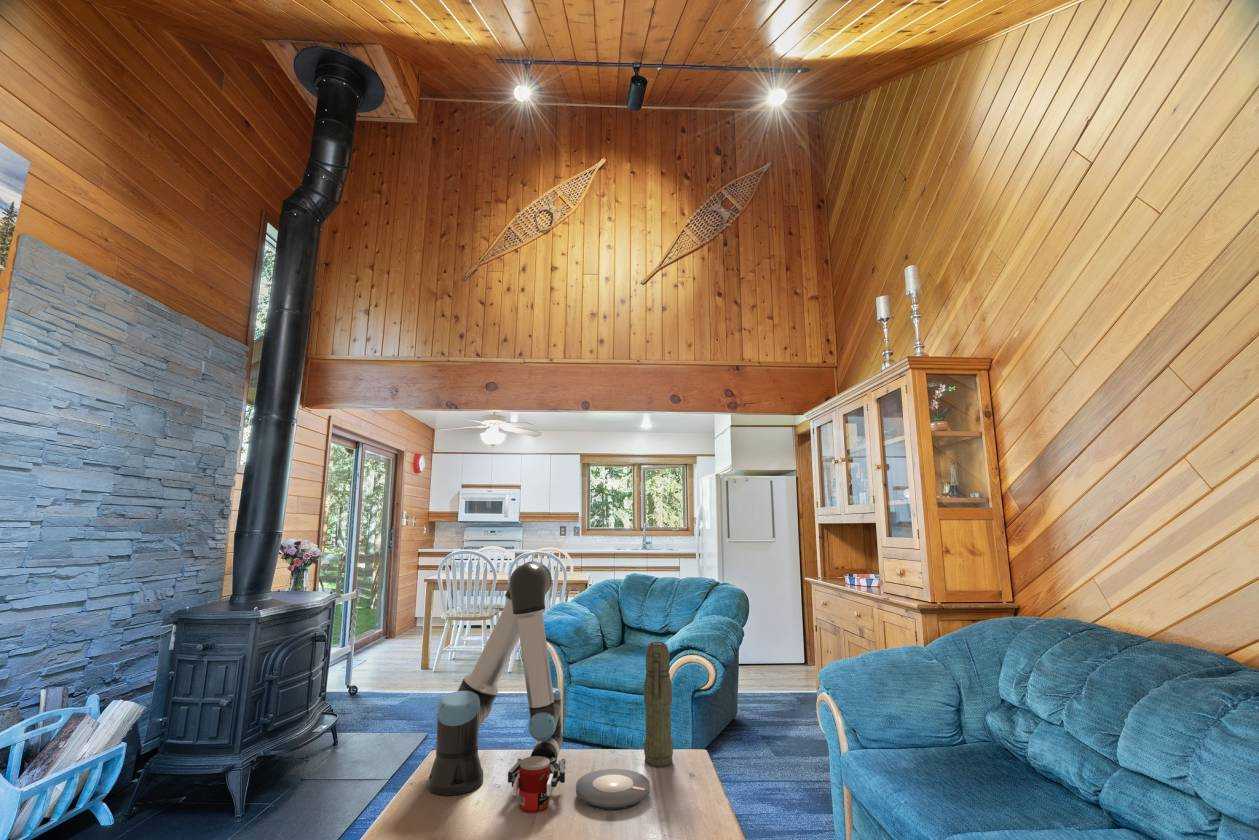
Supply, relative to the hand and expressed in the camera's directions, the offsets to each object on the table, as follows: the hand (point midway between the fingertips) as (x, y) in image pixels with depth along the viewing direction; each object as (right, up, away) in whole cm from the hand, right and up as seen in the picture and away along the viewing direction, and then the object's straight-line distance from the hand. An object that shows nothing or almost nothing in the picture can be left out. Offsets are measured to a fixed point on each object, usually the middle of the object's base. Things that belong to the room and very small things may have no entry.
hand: (531, 789), depth 154 cm
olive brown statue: (+34, -12, +33) cm, 48 cm away
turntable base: (+21, -8, +9) cm, 24 cm away
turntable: (+21, -6, +10) cm, 23 cm away
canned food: (0, -7, +4) cm, 8 cm away
